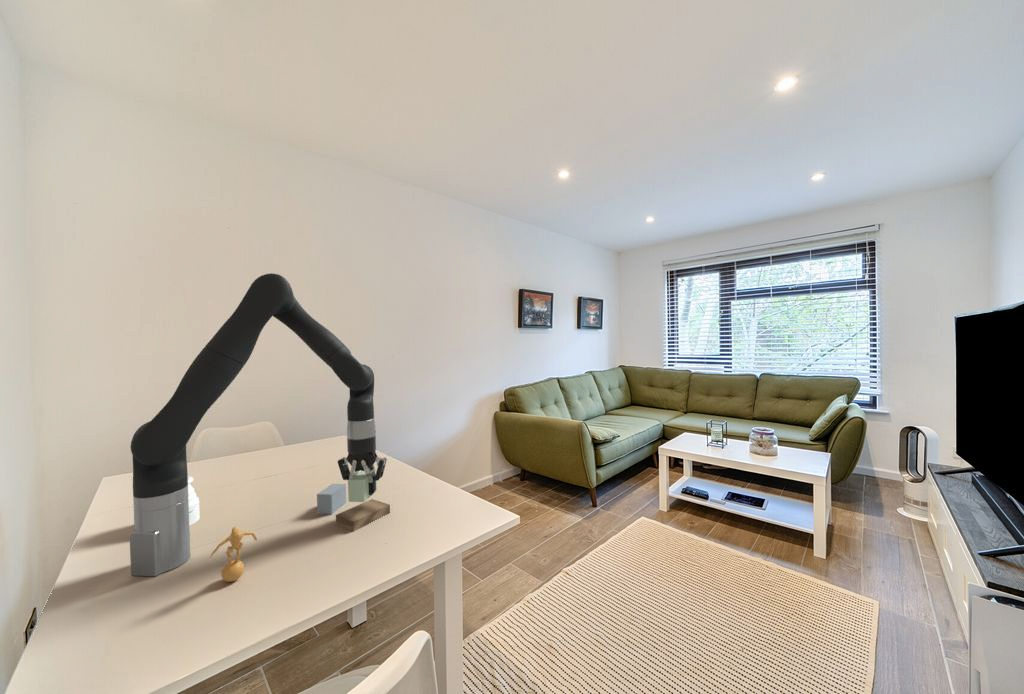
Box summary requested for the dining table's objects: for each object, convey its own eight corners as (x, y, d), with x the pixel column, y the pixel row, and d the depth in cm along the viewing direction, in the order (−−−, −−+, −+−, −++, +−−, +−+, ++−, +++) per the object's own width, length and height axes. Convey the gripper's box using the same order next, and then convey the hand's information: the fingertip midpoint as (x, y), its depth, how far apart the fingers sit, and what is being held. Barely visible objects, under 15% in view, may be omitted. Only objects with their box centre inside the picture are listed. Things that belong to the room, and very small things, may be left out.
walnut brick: (354, 532, 100) (353, 521, 100) (336, 525, 105) (335, 515, 104) (390, 514, 111) (389, 504, 110) (372, 508, 115) (372, 499, 115)
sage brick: (364, 502, 103) (363, 480, 103) (348, 501, 104) (347, 480, 104) (377, 490, 111) (376, 470, 111) (362, 490, 112) (361, 470, 112)
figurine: (251, 567, 85) (250, 514, 85) (262, 576, 81) (261, 521, 81) (206, 586, 78) (204, 530, 78) (215, 598, 75) (213, 538, 75)
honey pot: (208, 510, 114) (206, 452, 114) (186, 531, 102) (184, 465, 102) (155, 517, 111) (153, 457, 110) (126, 539, 98) (123, 471, 98)
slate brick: (332, 514, 110) (331, 494, 110) (317, 514, 111) (316, 494, 111) (346, 502, 118) (345, 484, 118) (332, 502, 119) (332, 483, 119)
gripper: (330, 438, 104) (332, 499, 104) (379, 438, 103) (381, 500, 103) (344, 431, 112) (346, 488, 112) (391, 431, 110) (392, 489, 111)
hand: (363, 493), depth 108 cm, fingers closed on sage brick, 4 cm apart
